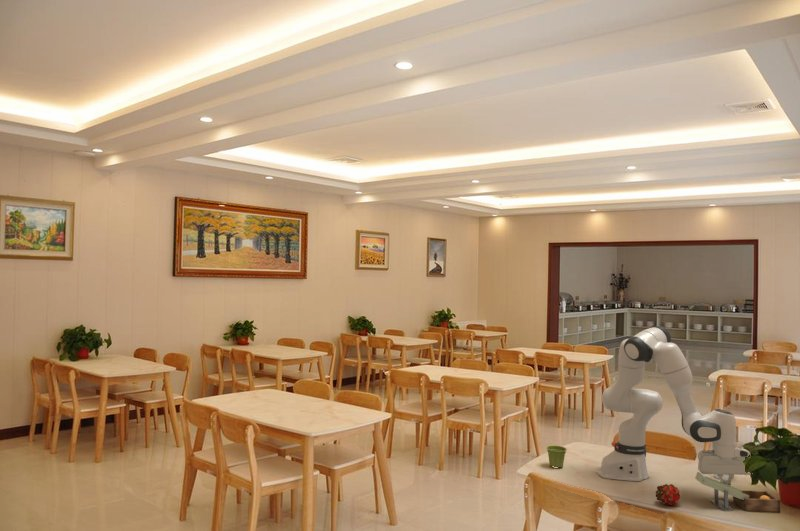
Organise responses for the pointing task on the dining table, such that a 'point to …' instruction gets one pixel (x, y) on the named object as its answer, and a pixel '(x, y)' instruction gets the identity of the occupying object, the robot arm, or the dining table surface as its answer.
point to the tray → (758, 502)
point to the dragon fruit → (668, 494)
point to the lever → (720, 486)
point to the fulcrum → (720, 503)
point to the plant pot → (556, 455)
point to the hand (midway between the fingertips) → (725, 485)
